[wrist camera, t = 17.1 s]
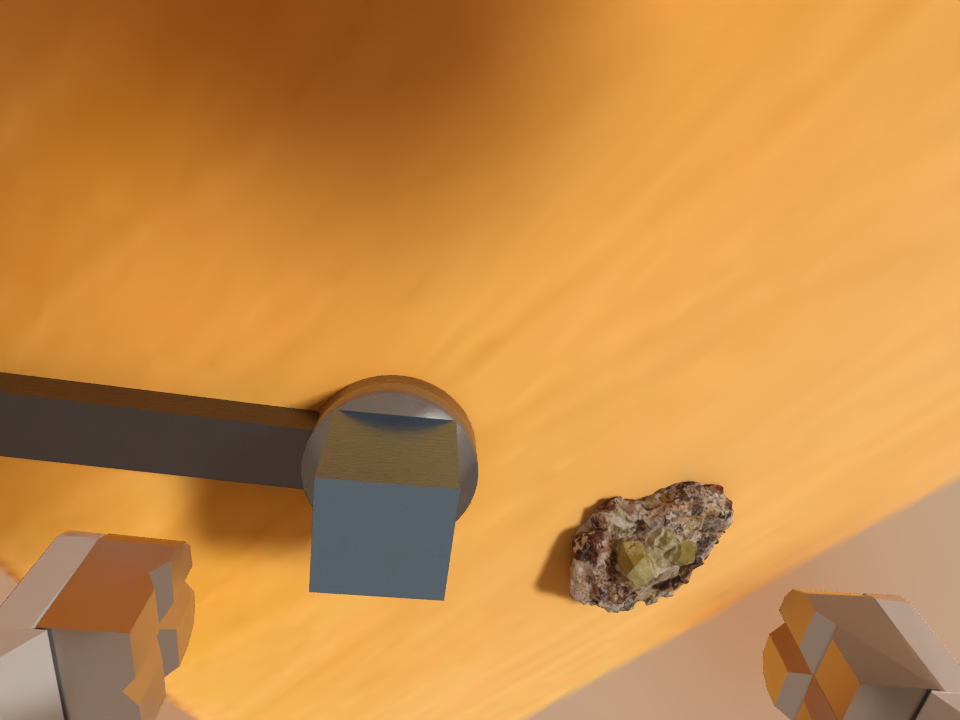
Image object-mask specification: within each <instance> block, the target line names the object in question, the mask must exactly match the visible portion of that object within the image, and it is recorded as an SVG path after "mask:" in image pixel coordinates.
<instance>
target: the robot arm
mask: <svg viewBox="0 0 960 720" xmlns="http://www.w3.org/2000/svg"><path fill="white" fill-rule="evenodd" d="M191 567H192V558H191V549H190V545H189V544H187V543H186V542H185V541H176V540H166V539H156V538H146V537H136V536H127V535H117V534H107V535H106V534H99V533H89V532H80V531H70V530H69V531H67V532H65V533H63V534H61V535H59V536H57V537H56V538H55V540H54V541H53V542H52V543H51V544H50V546H49V547H48V548H47V549H46V551H45V552H44V553H43V554H42V556H41V557H40V558H39V559H38V560H37V562H36V563H35V564H34V565H33V567H32V568H31V569H30V570H29V572H28V573H27V574H26V575H25V576H24V578H23V579H22V580H21V581H20V583H19V584H18V585H17V586H16V588H15V589H14V590H13V591H12V593H11V594H10V595H9V596H8V597H7V599H6V600H5V601H4V602H3V604H2V605H1V606H0V720H155V719H156V717H157V715H158V713H159V710H160V708H161V706H162V704H163V702H164V700H165V697H166V692H165V681H164V677H165V676H167V675H168V674H169V673H171V672H172V671H174V670H175V669H176V668H178V667H179V666H180V664H181V661H182V659H183V657H184V654H185V652H186V650H187V647H188V644H189V640H190V636H191V632H192V628H193V624H194V614H195V595H194V591H193V590H192V589H191V588H190V587H189V585H188V584H187V583H186V582H185V579H186V577H187V575H188V573H189V571H190V569H191ZM779 611H780V613H781V615H782V617H783V619H784V622H785V623H784V624H783V625H781V626H780V627H779V628H777V629H776V630H774V631H773V632H772V633H770V634H769V637H768V640H767V643H766V646H765V648H764V652H763V674H764V678H765V683H766V687H767V690H768V692H769V695H770V696H771V699H772V701H773V704H774V706H775V707H777V708H778V709H779V710H780V711H781V712H782V713H783V714H785V715H786V716H787V717H788V718H789V719H790V720H960V665H959V664H958V662H957V661H956V660H955V659H954V657H953V656H952V655H951V654H950V652H949V651H948V650H947V649H946V647H945V646H944V645H943V643H942V642H941V641H940V640H939V638H938V637H937V636H936V635H935V633H934V632H933V631H932V630H931V628H930V627H929V626H928V624H927V623H926V622H925V620H924V619H923V618H922V617H921V615H920V614H919V613H918V612H917V610H916V609H915V608H914V606H913V605H912V604H911V603H910V602H909V601H907V600H906V599H904V598H903V597H901V596H899V595H882V594H865V593H864V594H856V593H841V592H828V591H813V590H800V589H792V590H791V591H790V592H789V593H788V594H787V595H786V596H785V597H784V600H783V602H782V604H781V607H780V609H779Z"/></svg>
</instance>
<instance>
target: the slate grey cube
mask: <svg viewBox="0 0 960 720" xmlns="http://www.w3.org/2000/svg"><path fill="white" fill-rule="evenodd" d="M459 493H460V479H459V460H458V441H457V423H456V420H445V419H434V418H423V417H412V416H401V415H390V414H379V413H368V412H357V411H346V410H335V409H334V412H333V416H332V419H331V423H330V426H329V430H328V433H327V437H326V440H325V443H324V447H323V450H322V454H321V457H320V461H319V464H318V468H317V471H316V475H315V480H314V501H313V522H312V542H311V563H310V584H309V592H317V593H332V594H348V595H364V596H379V597H395V598H411V599H426V600H442V601H444V596H445V589H446V582H447V576H448V569H449V562H450V555H451V548H452V541H453V534H454V527H455V521H456V514H457V507H458V500H459Z"/></svg>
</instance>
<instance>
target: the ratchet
mask: <svg viewBox="0 0 960 720" xmlns="http://www.w3.org/2000/svg"><path fill="white" fill-rule="evenodd" d="M334 409H335V410H346V411H357V412H368V413H379V414H390V415H401V416H412V417H423V418H434V419H445V420H456V423H457V441H458V460H459V479H460V493H459V500H458V507H457V514H456V521H457V520H458V519H459V518H460V517H461V516H462V514H463V513H464V512H465V511H466V509H467V507H468V506H469V504H470V503H471V500H472V498H473V496H474V493H475V490H476V486H477V480H478V463H477V453H476V442H475V436H474V431H473V429H472V426H471V423H470V421H469V419H468V417H467V415H466V413H465V412H464V411H463V409H462V408H461V406H460V405H459V404H458V403H457V402H456V401H455V400H454V399H453V398H452V397H451V396H449V395H448V394H447V393H446V392H444V391H443V390H441V389H440V388H438V387H436V386H434V385H432V384H430V383H428V382H426V381H422V380H419V379H416V378H412V377H407V376H397V375H385V376H376V377H370V378H367V379H363V380H360V381H357V382H355V383H353V384H350V385H348V386H347V387H345V388H343V389H342V390H340V391H339V392H337V393H336V394H335V395H334V396H332V397H331V398H330V399H329V400H328V401H327V402H326V404H325V405H324V406H323V407H322V409H321V410H320V412H318V411H310V410H302V409H294V408H286V407H278V406H269V405H261V404H253V403H245V402H237V401H229V400H221V399H213V398H205V397H197V396H188V395H180V394H172V393H164V392H156V391H148V390H140V389H132V388H124V387H116V386H107V385H99V384H91V383H83V382H75V381H67V380H59V379H51V378H43V377H35V376H26V375H18V374H10V373H2V372H0V456H6V457H15V458H24V459H33V460H42V461H51V462H61V463H70V464H79V465H88V466H97V467H106V468H115V469H124V470H133V471H142V472H151V473H161V474H170V475H179V476H188V477H197V478H206V479H215V480H224V481H233V482H242V483H251V484H261V485H270V486H279V487H288V488H297V489H304V490H305V493H306V495H307V497H308V500H309V502H310V503H311V505H312V506H313V501H314V480H315V475H316V471H317V468H318V464H319V461H320V457H321V454H322V450H323V447H324V443H325V440H326V437H327V433H328V430H329V426H330V423H331V419H332V416H333V412H334ZM456 521H455V522H456Z"/></svg>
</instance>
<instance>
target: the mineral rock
mask: <svg viewBox="0 0 960 720" xmlns="http://www.w3.org/2000/svg"><path fill="white" fill-rule="evenodd" d="M733 512H734V511H733V510H732V501H730V500H729V499H728V498H726V497H725V494H724V492H723V487H722V486H720V485H710V486H703V485H702V484H701V483H697V482H695V481H692V482H681V483H675V484H673V485H671V486H669V487H667V488H661V489H659V490H658V491H656V492H655V493H654V494H652V495H650V496H647V497H644V498H642V499H639V500H628V501H627V500H623V499H622V497H621V496H620V497H616V498H614V499H612V500H610V501H607V502H605V503H604V504H603V506H599V507H597V508H596V509H595V512H594V513H592V515H591V516H590V518H589V519H588V520H587V522H586V523H585V524H582V525H581V526H580V527H579V528H578V530H577V532H576V533H575V536H574V537H573V542H572V547H573V557H572V560H571V567H570V580H569V594H570V596H571V597H572V598H573V599H574V600H577V601H579V602H581V603H583V605H585V604H590V605H591V606H592V605H597V606H598V607H601V608H605V610H606V611H607V612H616V613H618V612H619V611H629V610H632V609H634V605H635V603H636V602H637V601H644V602H645V604H646V605H651V604H653V603H656V602H657V599H658V598H659V597H661V596H662V597H671V596H673V593H674V591H675V590H677V589H678V588H679V587H680V586H681V585H683V584H687V583H688V582H689V579H690V577H691V574H692V571H693V570H694V569H695V568H697V567H699V566H701V565H703V564H704V563H703V561H704V560H706V559H707V557H708V556H709V553H710V551H711V550H712V549H713V547H714V544H718V543H719V542H718V538H720V537H721V535H722V534H723V533H725V530H726V529H727V528H728V527H729V526H730V525H731V524H732V522H733V521H732V516H733Z"/></svg>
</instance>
